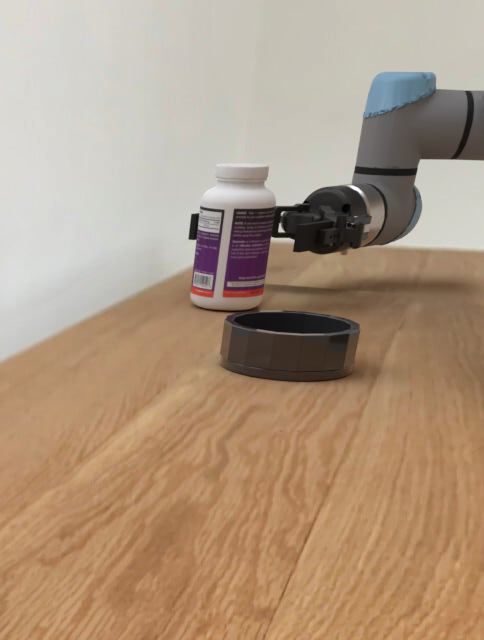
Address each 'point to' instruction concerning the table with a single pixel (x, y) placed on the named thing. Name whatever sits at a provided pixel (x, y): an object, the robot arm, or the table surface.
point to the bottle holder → (289, 345)
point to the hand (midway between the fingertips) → (243, 232)
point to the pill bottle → (233, 239)
